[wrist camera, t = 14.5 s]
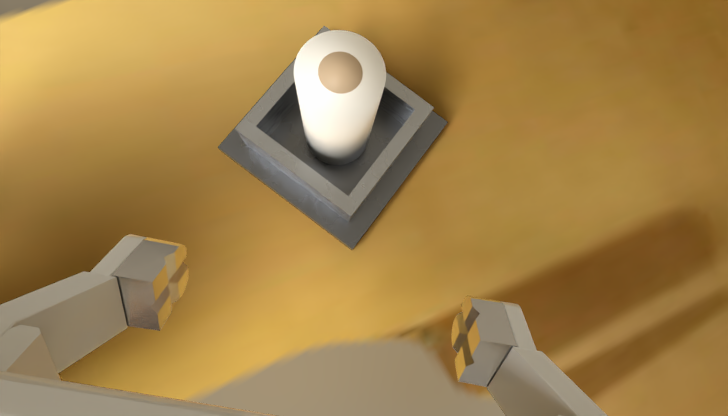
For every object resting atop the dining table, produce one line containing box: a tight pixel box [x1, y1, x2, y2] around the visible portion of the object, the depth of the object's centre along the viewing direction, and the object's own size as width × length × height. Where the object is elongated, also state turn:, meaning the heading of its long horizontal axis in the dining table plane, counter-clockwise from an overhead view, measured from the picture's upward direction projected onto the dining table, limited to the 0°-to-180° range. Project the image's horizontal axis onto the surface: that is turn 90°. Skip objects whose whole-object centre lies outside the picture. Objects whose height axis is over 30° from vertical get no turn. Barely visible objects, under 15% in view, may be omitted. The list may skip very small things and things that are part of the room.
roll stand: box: [218, 26, 448, 250], centre depth 30 cm, size 13×13×5 cm
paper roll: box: [294, 30, 386, 165], centre depth 26 cm, size 5×5×10 cm
